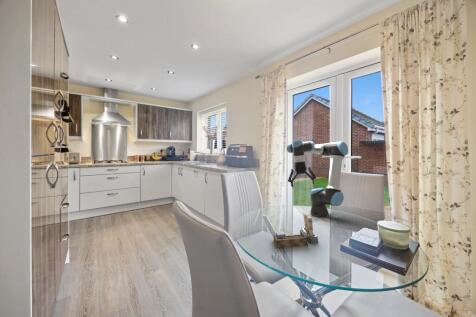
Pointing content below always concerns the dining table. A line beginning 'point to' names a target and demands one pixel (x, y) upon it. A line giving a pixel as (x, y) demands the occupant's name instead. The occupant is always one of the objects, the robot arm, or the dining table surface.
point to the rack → (291, 240)
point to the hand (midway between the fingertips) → (303, 189)
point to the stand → (310, 237)
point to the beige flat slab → (308, 224)
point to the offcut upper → (280, 234)
